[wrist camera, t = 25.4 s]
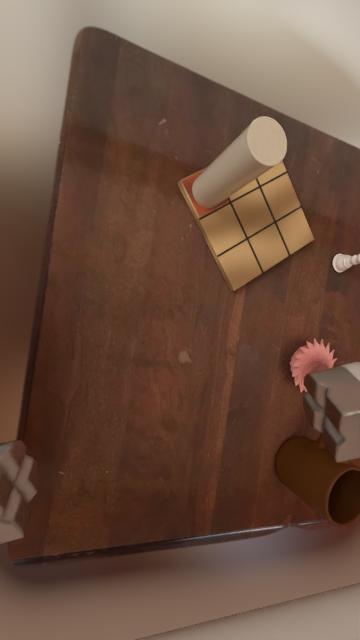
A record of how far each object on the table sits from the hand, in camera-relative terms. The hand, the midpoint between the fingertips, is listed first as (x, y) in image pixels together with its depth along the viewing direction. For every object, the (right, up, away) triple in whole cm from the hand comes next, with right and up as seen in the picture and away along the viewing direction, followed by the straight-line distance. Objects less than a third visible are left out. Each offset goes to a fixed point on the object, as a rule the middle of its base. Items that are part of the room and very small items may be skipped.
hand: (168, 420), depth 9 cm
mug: (+18, -16, +36) cm, 43 cm away
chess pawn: (+25, +12, +37) cm, 46 cm away
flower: (+18, -3, +35) cm, 40 cm away
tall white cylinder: (+4, +19, +28) cm, 34 cm away
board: (+10, +17, +31) cm, 37 cm away
